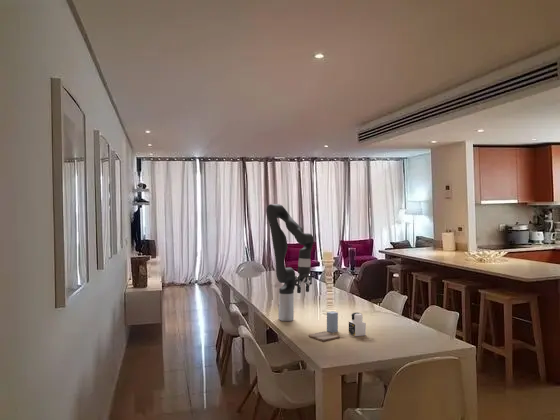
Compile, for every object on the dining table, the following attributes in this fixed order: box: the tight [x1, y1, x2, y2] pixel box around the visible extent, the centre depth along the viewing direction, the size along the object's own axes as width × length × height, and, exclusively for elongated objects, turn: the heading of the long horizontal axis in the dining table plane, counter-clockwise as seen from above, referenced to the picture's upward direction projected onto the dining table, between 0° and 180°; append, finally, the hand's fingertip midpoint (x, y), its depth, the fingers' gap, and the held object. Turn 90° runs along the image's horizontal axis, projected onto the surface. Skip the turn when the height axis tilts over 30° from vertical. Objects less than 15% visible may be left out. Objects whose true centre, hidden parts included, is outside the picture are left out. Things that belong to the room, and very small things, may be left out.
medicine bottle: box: [348, 312, 367, 337], centre depth 257 cm, size 7×7×12 cm
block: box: [326, 311, 339, 334], centre depth 263 cm, size 4×4×11 cm
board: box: [308, 330, 340, 343], centre depth 251 cm, size 12×12×1 cm
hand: (303, 292), depth 276 cm, fingers open, 8 cm apart
